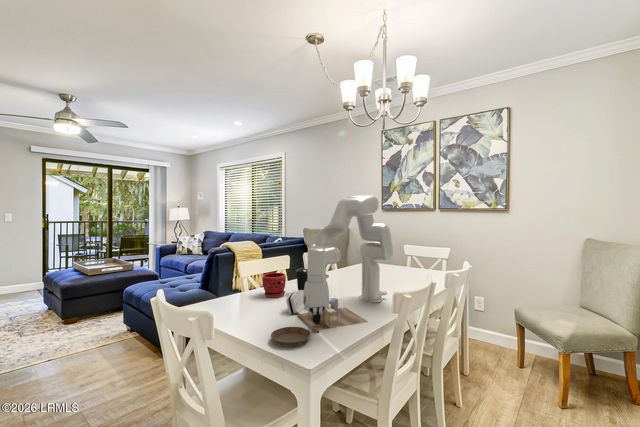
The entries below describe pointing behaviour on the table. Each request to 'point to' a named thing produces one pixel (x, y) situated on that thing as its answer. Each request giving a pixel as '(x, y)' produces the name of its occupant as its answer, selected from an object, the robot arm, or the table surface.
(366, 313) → the table surface
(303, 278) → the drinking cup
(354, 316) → the board
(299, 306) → the white rounded block
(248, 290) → the table surface
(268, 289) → the plant pot
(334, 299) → the bracket
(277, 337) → the saucer
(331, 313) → the link
